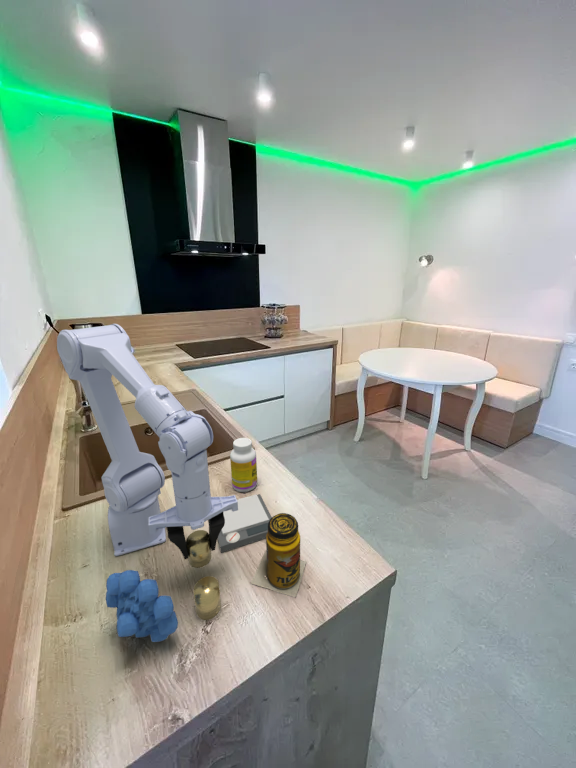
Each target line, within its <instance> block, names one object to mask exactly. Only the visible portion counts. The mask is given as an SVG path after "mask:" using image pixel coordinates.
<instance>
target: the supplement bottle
mask: <svg viewBox="0 0 576 768" xmlns="http://www.w3.org/2000/svg"><path fill="white" fill-rule="evenodd" d="M232 447H233V449H232V450H231V451H230V454H229V460H230V472H231V476H230V477H231V484H232V488H233V489H234V490H235V491H236V492H240V493H247V492H250V491H252V490H254V489H255V488H256V487H257V485H258V466H257V465H258V463H257V451H256V450H255V449H254V448H253V442H252V440H251V439H250V438H248V437H239V438H236V439H235V440H233V444H232Z"/></svg>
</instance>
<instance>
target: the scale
mask: <svg viewBox="0 0 576 768" xmlns="http://www.w3.org/2000/svg"><path fill="white" fill-rule="evenodd" d="M236 499H237V501H238V510H237V511H234V512H233V511H232V509H231V510H228V511H224V512H223V514H224V518H225V524H224V527H223V528H222V530H221V531H220V533H219V536H218V539H217V542H218V546H219V549H220V553H221V554H223V553H224V552H229V551H231V550H234V549H238V548H241V547H244V546H247V545H249V544H254V543H256V542H258V541H262V540H266V535H267V533H268V523H269V520H270V519H271V518H272V517H273V516H272V515H271V513H270V511H269V509H268V506H267V505H266V503H265V501H264V499H263V496H262V495H261V493H260V494H253V495H248V496H246V497H242V498H236Z"/></svg>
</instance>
